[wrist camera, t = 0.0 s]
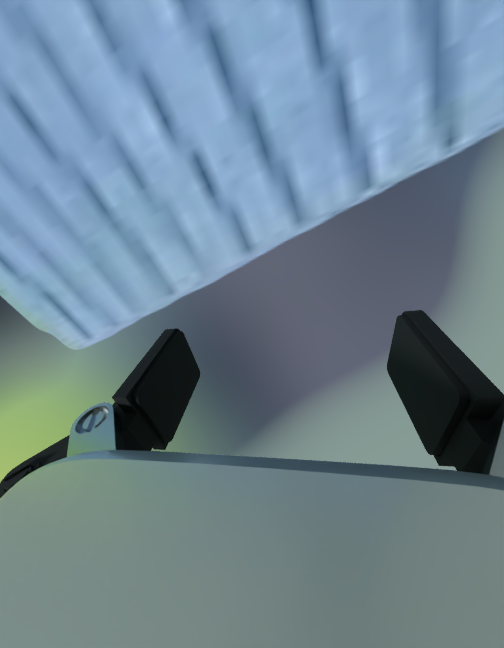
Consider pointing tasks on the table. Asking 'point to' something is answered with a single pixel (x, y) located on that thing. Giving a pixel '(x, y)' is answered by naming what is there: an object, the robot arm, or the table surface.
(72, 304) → the table surface
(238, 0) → the table surface
